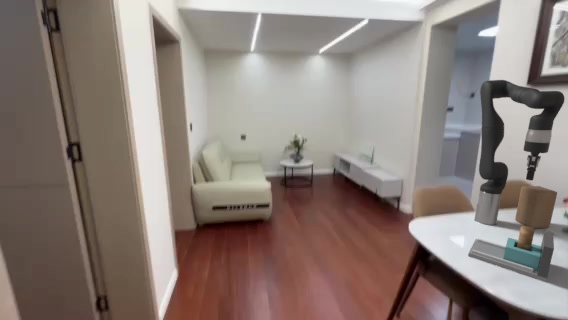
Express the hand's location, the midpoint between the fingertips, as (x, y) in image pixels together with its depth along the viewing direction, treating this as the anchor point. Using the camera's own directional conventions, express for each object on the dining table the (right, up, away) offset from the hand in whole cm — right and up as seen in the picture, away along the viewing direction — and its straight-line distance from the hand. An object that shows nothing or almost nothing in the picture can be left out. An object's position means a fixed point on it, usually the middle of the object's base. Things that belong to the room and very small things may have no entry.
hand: (529, 177), depth 111 cm
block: (+26, -27, +26) cm, 46 cm away
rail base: (-13, -34, -3) cm, 36 cm away
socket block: (-10, -33, -7) cm, 35 cm away
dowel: (-10, -32, -7) cm, 34 cm away
